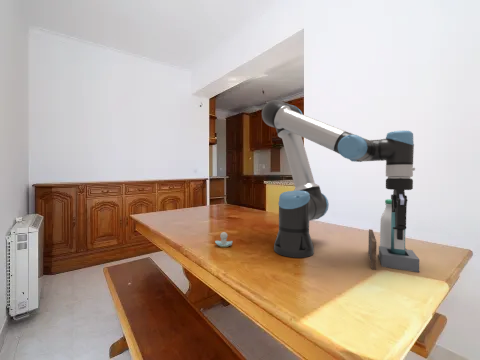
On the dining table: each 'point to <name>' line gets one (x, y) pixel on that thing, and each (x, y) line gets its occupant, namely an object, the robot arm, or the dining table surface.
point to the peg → (393, 251)
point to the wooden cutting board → (372, 249)
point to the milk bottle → (386, 225)
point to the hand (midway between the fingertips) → (397, 246)
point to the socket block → (398, 259)
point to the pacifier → (223, 240)
